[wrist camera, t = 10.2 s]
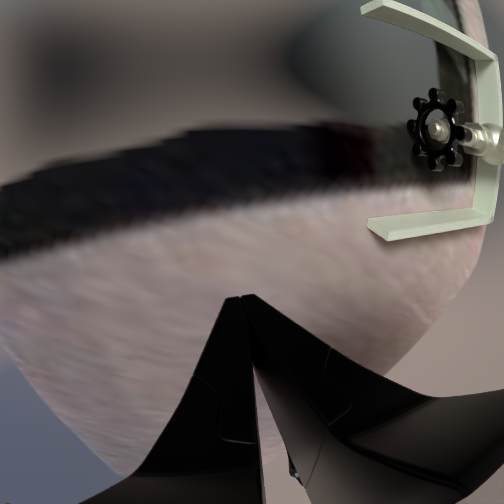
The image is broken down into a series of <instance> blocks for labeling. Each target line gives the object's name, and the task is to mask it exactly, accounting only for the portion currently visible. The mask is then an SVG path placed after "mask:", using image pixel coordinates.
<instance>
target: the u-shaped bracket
mask: <svg viewBox="0 0 504 504" xmlns="http://www.w3.org/2000/svg"><path fill="white" fill-rule="evenodd" d="M360 8H361V14H362V15H363V16H367V17H371V18H374V19H378V20H381V21H384V22H387V23H391V24H394V25H397V26H400V27H402V28H405V29H408V30H411V31H413V32H416V33H418V34H421V35H423V36H426V37H428V38H430V39H433V40H435V41H437V42H440V43H442V44H444V45H446V46H448V47H450V48H452V49H454V50H456V51H458V52H460V53H462V54H464V55H466V56H468V57H470V58H471V59H473V60H474V61H475V69H476V78H477V90H478V110H479V124H481V125H482V124H484V123H494V124H497V125H499V126H500V127H502V125H503V124H502V96H501V83H500V73H499V66H498V59H497V56H496V55H495V54H494V53H492V52H491V51H489V50H488V49H486V48H485V47H483V46H482V45H480V44H479V43H477V42H476V41H474V40H472V39H471V38H469V37H468V36H466V35H464V34H462V33H461V32H459V31H457V30H455V29H454V28H452V27H450V26H448V25H446V24H444V23H442V22H440V21H439V20H436V19H434V18H432V17H430V16H428V15H426V14H424V13H422V12H419V11H417V10H415V9H413V8H410V7H407V6H405V5H403V4H400V3H398V2H395V1H392V0H374V1H372V2H370V3H368V4H366V5H364V6H362V7H360ZM500 169H501V165H492V164H489V163H487V162H485V161H484V160H483V159H482V158H481V157H480V156H478V159H477V171H476V181H475V190H474V197H473V204H472V208H463V209H452V210H442V211H431V212H422V213H412V214H402V215H393V216H384V217H375V218H368V223H367V228H369V229H370V230H372V231H373V232H375V233H376V234H378V235H379V236H381V237H382V238H384V239H385V240H386V241H392V240H398V239H404V238H410V237H416V236H422V235H428V234H434V233H440V232H445V231H451V230H457V229H463V228H468V227H474V226H480V225H485V224H491V223H493V218H494V213H495V207H496V201H497V194H498V187H499V179H500Z"/></svg>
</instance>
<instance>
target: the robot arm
mask: <svg viewBox="0 0 504 504" xmlns="http://www.w3.org/2000/svg"><path fill="white" fill-rule="evenodd" d="M253 367H254V370H255V373H256V376H257V378H258V381H259V383H260V386H261V388H262V391H263V393H264V396H265V398H266V401H267V403H268V405H269V408H270V410H271V413H272V415H273V418H274V420H275V422H276V425H277V427H278V429H279V432H280V434H281V436H282V439H283V441H284V444H285V447H286V450H287V454H288V458H289V473H290V475H291V476H292V477H295V478H296V479H297V480H298V481H299V483H300V484H301V485H302V486H304V488H305V489H306V493H307V495H308V497H309V499H310V501H311V503H312V504H504V389H501V390H496V391H490V392H484V393H478V394H470V395H462V396H452V397H431V396H427V395H423V394H420V393H418V392H415V391H413V390H411V389H408V388H406V387H404V386H402V385H400V384H398V383H396V382H393V381H391V380H389V379H387V378H385V377H383V376H381V375H379V374H377V373H375V372H373V371H371V370H369V369H367V368H365V367H364V366H362V365H360V364H358V363H356V362H355V361H353V360H351V359H350V358H348V357H346V356H345V355H343V354H342V353H340V352H339V351H337V350H336V349H334V348H332V349H331V346H329V345H328V344H326V343H325V342H323V341H322V340H320V339H319V338H318V337H316V336H315V335H313V334H312V333H310V332H309V331H307V330H306V329H304V328H303V327H301V326H300V325H298V324H297V323H295V322H294V321H293V320H291V319H290V318H288V317H287V316H285V315H284V314H282V313H281V312H279V311H278V310H277V309H275V308H274V307H272V306H271V305H269V304H268V303H267V302H265V301H264V300H262V299H261V298H260V297H258V296H257V295H255V294H248V295H242V296H241V297H238V296H236V297H229V298H226V299H225V301H224V303H223V305H222V308H221V310H220V312H219V314H218V317H217V319H216V321H215V324H214V326H213V328H212V331H211V333H210V335H209V338H208V340H207V342H206V345H205V347H204V349H203V352H202V354H201V356H200V359H199V361H198V363H197V366H196V368H195V370H194V373H193V376H192V377H191V379H190V382H189V384H188V386H187V388H186V391H185V393H184V395H183V397H182V399H181V401H180V403H179V405H178V406H177V408H176V410H175V412H174V413H173V415H172V417H171V419H170V420H169V422H168V423H167V425H166V427H165V428H164V430H163V431H162V433H161V435H160V436H159V438H158V439H157V441H156V443H155V444H154V446H153V447H152V449H151V450H150V452H149V454H148V455H147V457H146V458H145V460H144V461H143V462H142V464H141V465H140V466H139V467H138V468H137V469H136V470H135V471H134V472H133V473H132V474H131V475H130V476H128V477H127V478H125V479H124V480H122V481H120V482H119V483H117V484H115V485H113V486H111V487H110V488H108V489H106V490H104V491H102V492H100V493H98V494H96V495H94V496H93V497H90V498H88V499H86V500H85V501H82V502H80V503H78V504H266V498H265V487H264V478H263V469H262V458H261V448H260V438H259V427H258V417H257V407H256V396H255V385H254V374H253ZM4 504H9V503H4Z"/></svg>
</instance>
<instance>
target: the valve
mask: <svg viewBox="0 0 504 504" xmlns="http://www.w3.org/2000/svg"><path fill="white" fill-rule="evenodd" d="M428 95H429V98H430V101H429V102H428V101H427V100H426V99H422V98H418V97H416V98H415V99H414V100H413V107H414V108H415V109H416V110H417V111H418V117H417V119H416V120H412V119H410V120H408V122H407V129H408V131H409V132H412V133H416V134H417V137H418V142H417V143H415V144H414V145H413V147H412V151H413V154H414V155H415V156H418V157H426V156H427V155H426V153H427V154H428V155H429V159H428V162H427V164H428V167H429V169H430V170H432V171H442V170H443V168H444V165H441V162H440V161H441V158H446V162H447V163H448V165H450V166H457V167H459V166H461V165H462V163H463V157H462V155H461V154H458V153H457V145H458V144H461V145H463V148H464V152H465V153H468V154H471V155H475V156H480V157H481V158H482V159H483V160H484V161H485V162H487V163H489V164H492V165H501V164H504V129H503V128H502V127H500V126H499V125H497V124H494V123H484V124H482V125H481V124H478V123H469V122H466V123H465V125H464V126H462V125H459V122H458V113H462V114H463V113H464V105H463V103H462V102H461V101H458V100H456V99H453V98H450V99H449V100H448V101H447V105H446V104H443V103H442V97H446V96H445V93H444V92H443V91H442V90H439V89H436V88H431V89H430V90H429V93H428ZM427 102H428V103H427ZM435 109H440V110H441V111H443V112H444V113H445V115H446V116H447V118H448V120H447V119H443V118H440V119H432V120H431V121H430V123H429V125H425V122H426V119H427V116H428V115H429V113H430V112H431V111H433V110H435ZM425 131H427V132H429V134H430V136H431V138H432V139H437V140H438V141H439V142H441V143H446V146H445V147H444V148H443V149H441V150H438V151H437V150H435V149H434V148H432V147H431V145H430V144H429V143H428V141H427V138H426V135H425ZM425 152H426V153H425Z"/></svg>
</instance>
